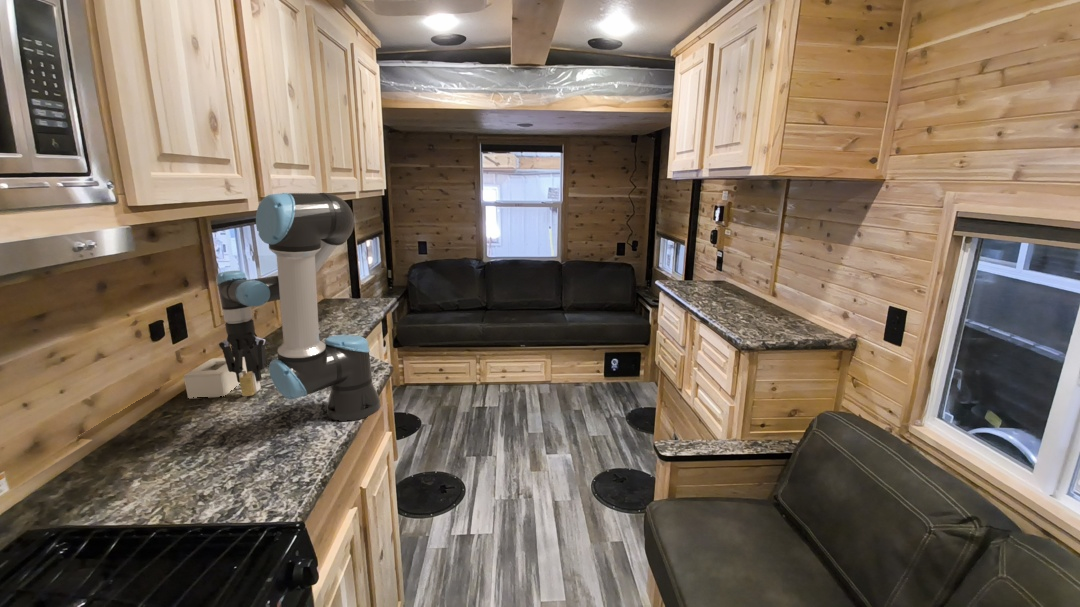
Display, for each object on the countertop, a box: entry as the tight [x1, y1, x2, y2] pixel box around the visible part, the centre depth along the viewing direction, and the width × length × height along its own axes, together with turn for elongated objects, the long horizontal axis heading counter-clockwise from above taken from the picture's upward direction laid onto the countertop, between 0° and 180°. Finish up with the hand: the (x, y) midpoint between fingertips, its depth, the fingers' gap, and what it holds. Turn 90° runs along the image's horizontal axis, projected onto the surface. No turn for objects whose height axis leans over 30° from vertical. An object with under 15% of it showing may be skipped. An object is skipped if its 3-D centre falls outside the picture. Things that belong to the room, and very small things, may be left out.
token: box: [239, 371, 262, 397], centre depth 152 cm, size 6×3×6 cm, turn 6°
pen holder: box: [230, 341, 258, 372], centre depth 177 cm, size 9×9×10 cm
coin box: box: [183, 357, 247, 399], centre depth 161 cm, size 16×11×8 cm
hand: (251, 390), depth 153 cm, fingers closed on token, 3 cm apart
